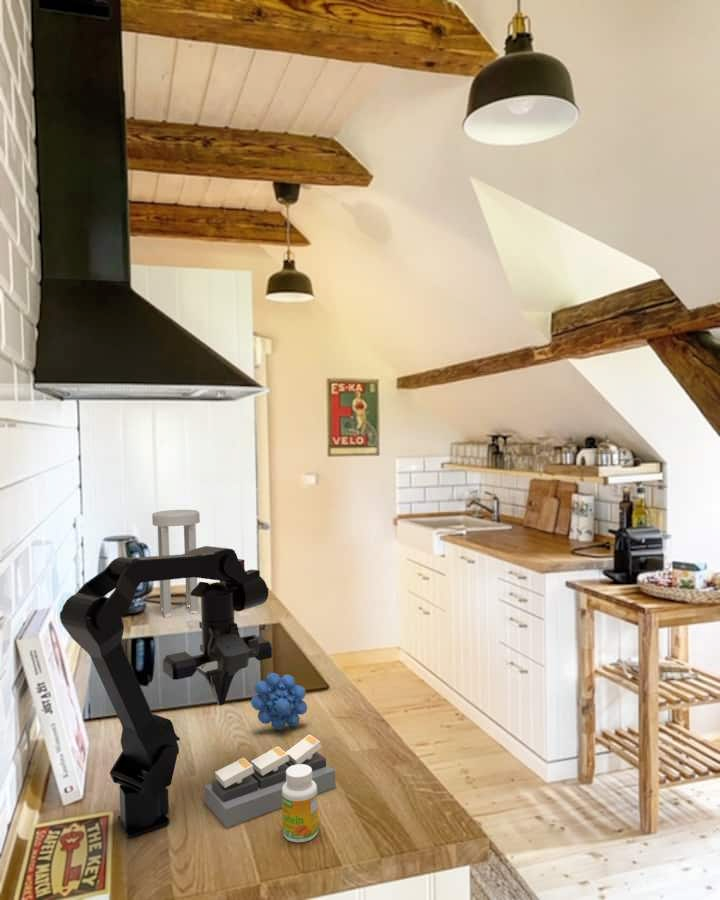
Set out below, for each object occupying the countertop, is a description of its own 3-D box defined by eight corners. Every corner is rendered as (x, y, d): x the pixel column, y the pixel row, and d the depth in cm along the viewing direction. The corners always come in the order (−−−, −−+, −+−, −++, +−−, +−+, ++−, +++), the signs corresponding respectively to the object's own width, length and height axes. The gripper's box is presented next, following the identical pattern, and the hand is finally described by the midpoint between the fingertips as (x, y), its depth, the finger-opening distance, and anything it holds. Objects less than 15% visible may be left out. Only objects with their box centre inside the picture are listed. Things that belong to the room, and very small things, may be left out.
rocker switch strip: (226, 828, 106) (225, 800, 106) (204, 803, 113) (203, 777, 113) (335, 787, 117) (334, 762, 117) (309, 767, 124) (308, 743, 124)
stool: (158, 619, 228) (155, 515, 227) (153, 609, 242) (150, 511, 242) (205, 614, 234) (202, 512, 233) (197, 604, 248) (194, 508, 248)
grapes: (255, 743, 135) (254, 683, 134) (250, 729, 141) (248, 672, 141) (313, 733, 138) (311, 675, 138) (304, 720, 145) (303, 664, 144)
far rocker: (299, 768, 116) (295, 759, 116) (288, 760, 119) (285, 751, 119) (323, 749, 119) (319, 741, 118) (312, 742, 122) (309, 733, 121)
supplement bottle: (276, 839, 102) (274, 775, 102) (292, 820, 107) (290, 759, 107) (309, 846, 100) (307, 781, 100) (324, 826, 105) (322, 764, 105)
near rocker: (225, 791, 108) (223, 780, 108) (216, 781, 111) (214, 771, 111) (254, 775, 111) (252, 765, 111) (245, 767, 114) (243, 757, 114)
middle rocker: (262, 778, 112) (260, 768, 112) (253, 770, 115) (251, 760, 115) (290, 763, 115) (287, 753, 115) (280, 755, 118) (277, 745, 118)
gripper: (182, 638, 109) (186, 734, 110) (286, 617, 120) (288, 705, 120) (160, 623, 118) (163, 712, 119) (258, 605, 129) (260, 687, 129)
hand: (220, 704), depth 121 cm, fingers closed
